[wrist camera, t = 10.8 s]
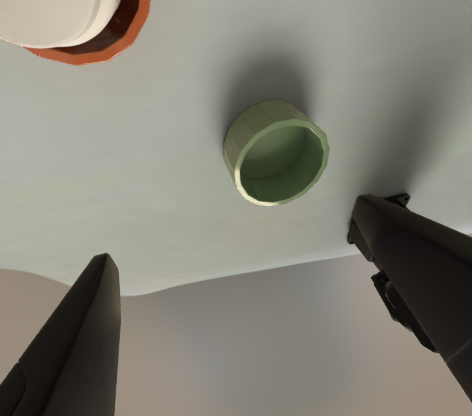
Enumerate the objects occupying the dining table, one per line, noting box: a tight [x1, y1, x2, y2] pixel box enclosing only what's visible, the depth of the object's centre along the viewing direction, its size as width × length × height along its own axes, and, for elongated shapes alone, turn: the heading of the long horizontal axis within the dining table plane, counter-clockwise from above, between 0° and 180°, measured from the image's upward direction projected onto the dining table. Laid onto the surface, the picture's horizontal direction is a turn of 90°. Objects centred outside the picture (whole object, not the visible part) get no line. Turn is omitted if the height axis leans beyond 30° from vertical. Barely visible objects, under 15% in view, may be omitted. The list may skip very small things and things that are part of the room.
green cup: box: [223, 100, 329, 206], centre depth 21 cm, size 7×7×4 cm
